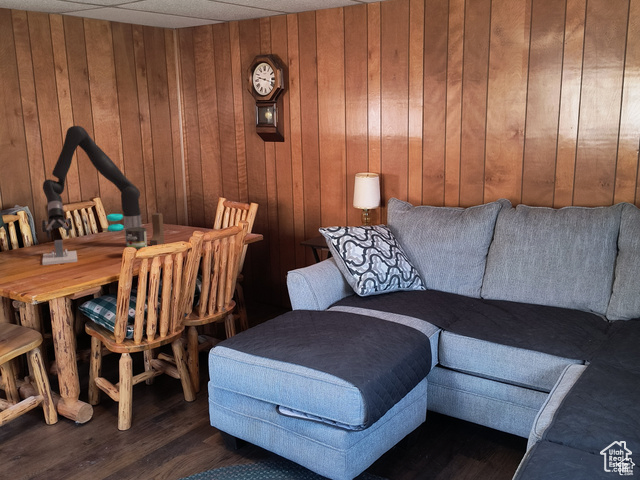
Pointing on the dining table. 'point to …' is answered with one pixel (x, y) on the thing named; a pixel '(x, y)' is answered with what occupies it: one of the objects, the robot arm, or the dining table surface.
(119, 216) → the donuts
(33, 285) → the dining table surface
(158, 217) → the wooden block
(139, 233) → the coffee can
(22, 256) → the dining table surface
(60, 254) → the block
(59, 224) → the robot arm
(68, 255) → the grey peg board
